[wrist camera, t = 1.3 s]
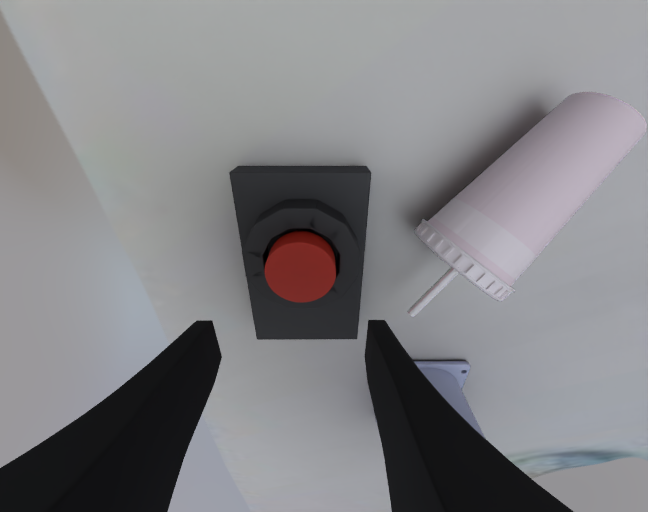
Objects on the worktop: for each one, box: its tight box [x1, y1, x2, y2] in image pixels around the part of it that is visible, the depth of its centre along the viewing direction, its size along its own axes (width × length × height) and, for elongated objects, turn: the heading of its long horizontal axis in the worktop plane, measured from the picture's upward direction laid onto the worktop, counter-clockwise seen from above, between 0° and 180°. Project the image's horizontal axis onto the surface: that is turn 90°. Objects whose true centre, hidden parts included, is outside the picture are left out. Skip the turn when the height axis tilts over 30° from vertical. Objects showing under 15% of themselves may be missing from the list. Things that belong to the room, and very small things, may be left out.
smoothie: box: [407, 92, 647, 317], centre depth 15 cm, size 6×6×14 cm
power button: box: [265, 231, 336, 302], centre depth 16 cm, size 4×4×2 cm
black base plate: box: [230, 166, 371, 339], centre depth 18 cm, size 13×8×4 cm, turn 0°
